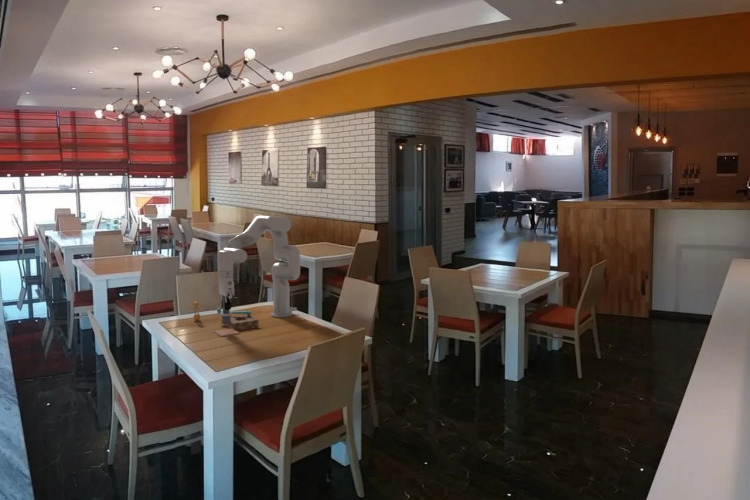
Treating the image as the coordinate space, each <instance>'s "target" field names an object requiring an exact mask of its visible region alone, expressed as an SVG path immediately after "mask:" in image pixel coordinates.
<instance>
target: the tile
mask: <svg viewBox="0 0 750 500" xmlns="http://www.w3.org/2000/svg"><path fill="white" fill-rule="evenodd" d="M213 333H214V334H216V335H218V336H219V337H228V336H234V335H240V334H241V333H240V332H239V330H234V329H230V328H228V329H227V328H226V329H220V330H214V331H213Z"/></svg>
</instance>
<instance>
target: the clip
mask: <svg viewBox="0 0 750 500" xmlns="http://www.w3.org/2000/svg"><path fill="white" fill-rule="evenodd" d="M216 312H217V314H220V313H221V312H223V310H222V307H218V308H216ZM230 312H232V315H240V314H241V315H247V314H252V311H251V310H237V311H236V310H230Z"/></svg>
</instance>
